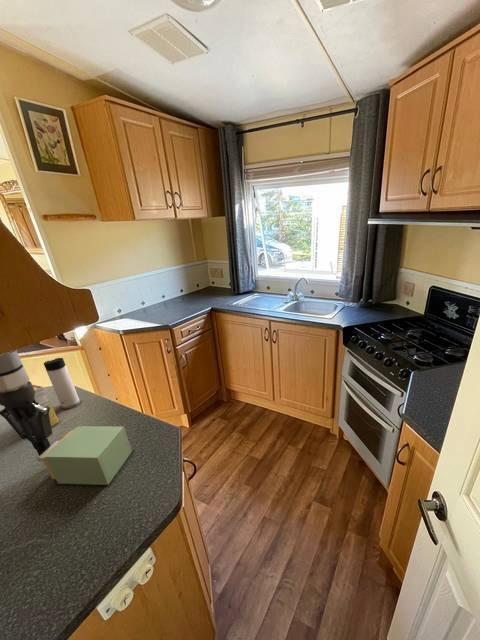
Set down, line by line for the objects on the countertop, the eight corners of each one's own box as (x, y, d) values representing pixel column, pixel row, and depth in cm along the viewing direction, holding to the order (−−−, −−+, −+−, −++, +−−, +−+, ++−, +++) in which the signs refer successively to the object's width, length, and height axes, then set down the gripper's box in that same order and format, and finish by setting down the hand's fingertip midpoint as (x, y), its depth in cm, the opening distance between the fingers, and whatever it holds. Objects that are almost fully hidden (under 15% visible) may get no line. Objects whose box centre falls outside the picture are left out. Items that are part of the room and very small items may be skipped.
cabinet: (57, 483, 79) (44, 456, 75) (87, 450, 91) (77, 426, 86) (108, 484, 78) (97, 457, 74) (132, 451, 89) (123, 426, 85)
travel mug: (64, 411, 112) (45, 364, 103) (60, 405, 116) (40, 360, 108) (82, 403, 116) (64, 358, 107) (77, 398, 120) (60, 354, 112)
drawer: (37, 478, 80) (26, 457, 77) (67, 449, 90) (58, 429, 87) (98, 480, 78) (89, 458, 75) (121, 450, 89) (114, 430, 85)
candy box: (31, 424, 105) (13, 388, 98) (43, 417, 109) (26, 382, 102) (47, 429, 102) (30, 392, 95) (59, 422, 106) (43, 385, 99)
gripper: (-26, 394, 71) (15, 466, 81) (23, 393, 70) (58, 466, 80) (2, 379, 78) (37, 447, 88) (47, 378, 77) (77, 447, 87)
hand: (47, 456), depth 84 cm, fingers closed
